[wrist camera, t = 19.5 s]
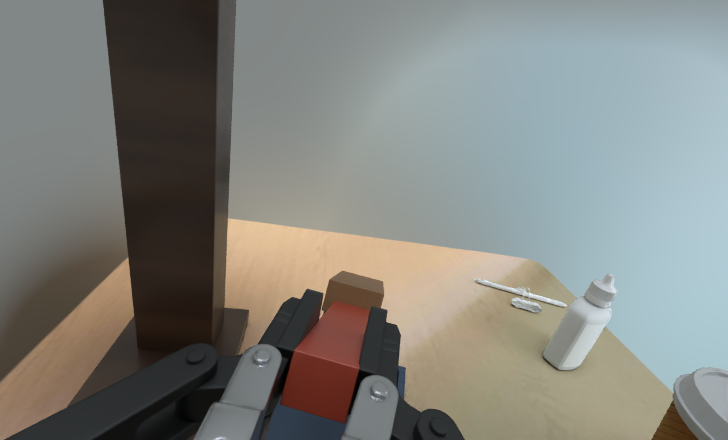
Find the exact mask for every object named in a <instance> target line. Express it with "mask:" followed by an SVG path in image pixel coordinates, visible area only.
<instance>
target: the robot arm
mask: <svg viewBox="0 0 728 440" xmlns="http://www.w3.org/2000/svg"><path fill="white" fill-rule="evenodd" d="M322 299H323V293H321V292H317V291H314V290H310V289H307V290H306V291H305V293H304V295H303V297H302V298H301V299H297V298H294V297H292V298H290V299H289V300H287V301H286V302H284V303H283V304H282V306H281V307H280V309H279V311H278V313H277V314H276V315H275V317H274V319H273V320H272V322H271V324H270V325H269V327H268V328H267V330H266V332H265V333H264V335H263V336H262V338H261V340H260V341H259V343H258V344H257V345H254V346H252V347H250V348H248V349H247V350H246V351H245V352H244V354H242V355H237V356H218V353H217V351H216V349H215V348H214V347H213V346H211V345H208V344H204V343H196V344H192V345H188V346H186V347H184V348H182V349H180V350H178V351H176V352H174V353H172V354H170V355H168V356H166V357H165V358H163V359H161V360H159V361H157V362H155V363H153V364H151V365H149V366H147V367H145V368H143V369H141V370H139V371H137V372H135V373H133V374H131V375H129V376H127V377H126V378H124V379H122V380H120V381H118V382H116V383H114V384H112V385H110V386H108V387H106V388H104V389H102V390H100V391H98V392H96V393H94V394H92V395H90V396H88V397H87V398H85V399H83V400H81V401H79V402H77V403H75V404H73V405H71V406H69V407H67V408H65V409H63V410H61V411H59V412H57V413H55V414H53V415H51V416H49V417H48V418H46V419H44V420H42V421H40V422H38V423H36V424H34V425H32V426H30V427H28V428H26V429H24V430H22V431H20V432H18V433H16V434H14V435H12V436H10V437H9V438H7V439H5V440H187V439H188V438H190V437H191V436H192V435H194V434H195V433H197V434H196V436H195V438H194V439H193V440H266V438H267V434H268V431H269V428H270V425H271V422H272V419H273V416H274V412H275V408H276V406H277V404H278V402H279V399H280V397H281V396H282V393H283V389H284V386H285V382H286V378H287V374H288V371H289V367H290V363H291V359H292V356H293V352H294V350H295V348H296V347H298V345H299V344H300V343H301V342H302V341H303V339H304V338H305V337H306V336H307V335H308V333H309V332H310V331H311V330H312V328H313V327H314V326H315V325H316V324H317V322H318V321H319V316H320V310H321V305H322ZM386 317H387V310H385V309H381V308H378V307H374V306H371V309H370V313H369V317H368V321H367V325H366V329H365V333H364V338H363V343H362V348H361V354H360V359H359V365H360V368H359V372H358V376H357V380H356V384H355V388H354V392H353V396H352V400H351V404H350V408H349V412H348V415H349V416H350V417H349V420H348V423H347V426H346V429H345V431H344V434H343V435H342V438H341V440H465V439H464V438H463V436H462V434H461V432H460V431H459V429H458V427H457V425H456V424H455V422H454V421H453V420H452V419H451V418H450V417H449V416H448V415H447V414H446V413H444V412H442V411H440V410H437V409H427V410H424V411H423V412H422V413H421V412H420V411H418V410H416V409H415V408H413V407H411V406H410V405H409V404H407V403H406V402H405V401H404V400H403V399H402V397H401V396H400V394H399V392H398V389H397V374H398V362H399V350H400V338H401V334H400V332H399V329H398V327H397V325H395V324H391V323H387V322H386Z"/></svg>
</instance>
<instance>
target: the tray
mask: <svg viewBox="0 0 728 440" xmlns="http://www.w3.org/2000/svg"><path fill="white" fill-rule="evenodd" d="M405 370H406V368H405V367H401V366H398V374H397V389H398V392H399V394H400V396H401V397H402V399H403V400H404V388H405ZM281 397H282V396H281ZM281 397H280V399H279V402H278V404H277V406H276V408H275V412H274V416H273V419H272V422H271V425H270V428H269V431H268V434H267V438H266V440H341V438H342V435H343V434H344V431H345V429H346V426H347V423H348V420H349V417H350V416H349V415H348V416H347V420H346V423H345V424H344V423H340V422H337V421H333V420H330V419H327V418H323V417H320V416H317V415H313V414H310V413H306V412H303V411H300V410H296V409H293V408H290V407H286V406H283V405H280V401H281Z"/></svg>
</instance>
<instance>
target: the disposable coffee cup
mask: <svg viewBox="0 0 728 440" xmlns="http://www.w3.org/2000/svg"><path fill="white" fill-rule="evenodd" d="M652 440H728V371H727V370H723V369H718V368H711V367H707V368H700V369H698V370H696V371H694V372H693V373H691V374H685V375H681V376H680V377H679V378H677V379H676V381H675V383H674V393H673V401H672V403H671V404H670V407H669V408H668V410H667V413H666V414H665V416H664V417H663V419H662V421H661V423H660V425H659V427H658V428H657V431H656V432H655V434H654V435H653V438H652Z"/></svg>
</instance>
